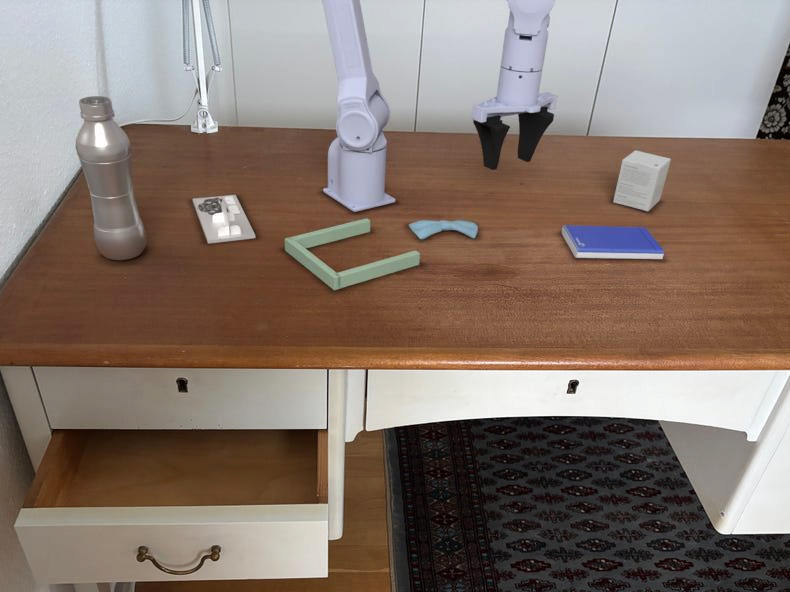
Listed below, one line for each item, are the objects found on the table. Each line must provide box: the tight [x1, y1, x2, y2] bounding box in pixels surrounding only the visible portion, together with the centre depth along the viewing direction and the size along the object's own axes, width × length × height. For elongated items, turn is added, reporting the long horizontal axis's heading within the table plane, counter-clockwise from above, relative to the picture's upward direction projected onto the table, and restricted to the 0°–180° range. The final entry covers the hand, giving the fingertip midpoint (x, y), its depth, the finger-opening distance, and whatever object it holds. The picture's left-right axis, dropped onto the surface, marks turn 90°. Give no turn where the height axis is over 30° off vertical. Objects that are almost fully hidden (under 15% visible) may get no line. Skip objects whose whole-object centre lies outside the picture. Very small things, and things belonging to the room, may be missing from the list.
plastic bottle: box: [74, 95, 147, 261], centre depth 90 cm, size 6×7×20 cm
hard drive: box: [561, 224, 665, 260], centre depth 103 cm, size 2×8×12 cm
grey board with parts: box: [191, 194, 257, 244], centre depth 105 cm, size 15×7×4 cm, turn 20°
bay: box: [284, 217, 421, 291], centre depth 97 cm, size 13×14×2 cm
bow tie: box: [408, 219, 479, 240], centre depth 105 cm, size 10×2×5 cm
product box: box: [612, 150, 672, 212], centre depth 116 cm, size 6×6×7 cm
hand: (507, 163), depth 106 cm, fingers open, 6 cm apart
